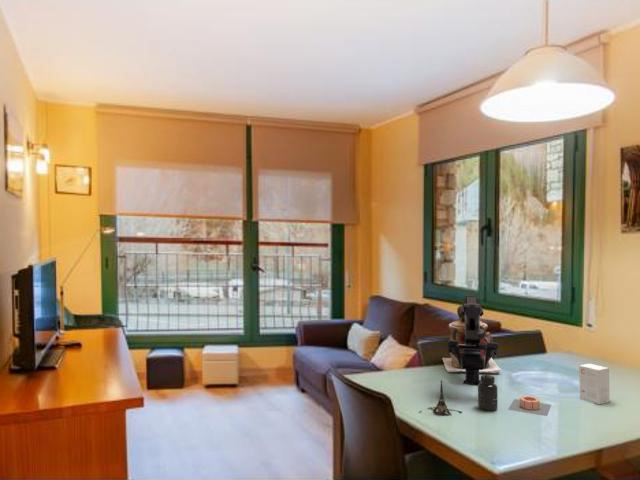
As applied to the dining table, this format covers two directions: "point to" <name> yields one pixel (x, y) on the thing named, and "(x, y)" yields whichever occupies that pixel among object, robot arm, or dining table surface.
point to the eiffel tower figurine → (441, 406)
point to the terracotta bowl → (529, 403)
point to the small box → (594, 383)
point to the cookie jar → (459, 336)
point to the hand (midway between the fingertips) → (472, 367)
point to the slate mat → (542, 411)
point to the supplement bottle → (487, 394)
